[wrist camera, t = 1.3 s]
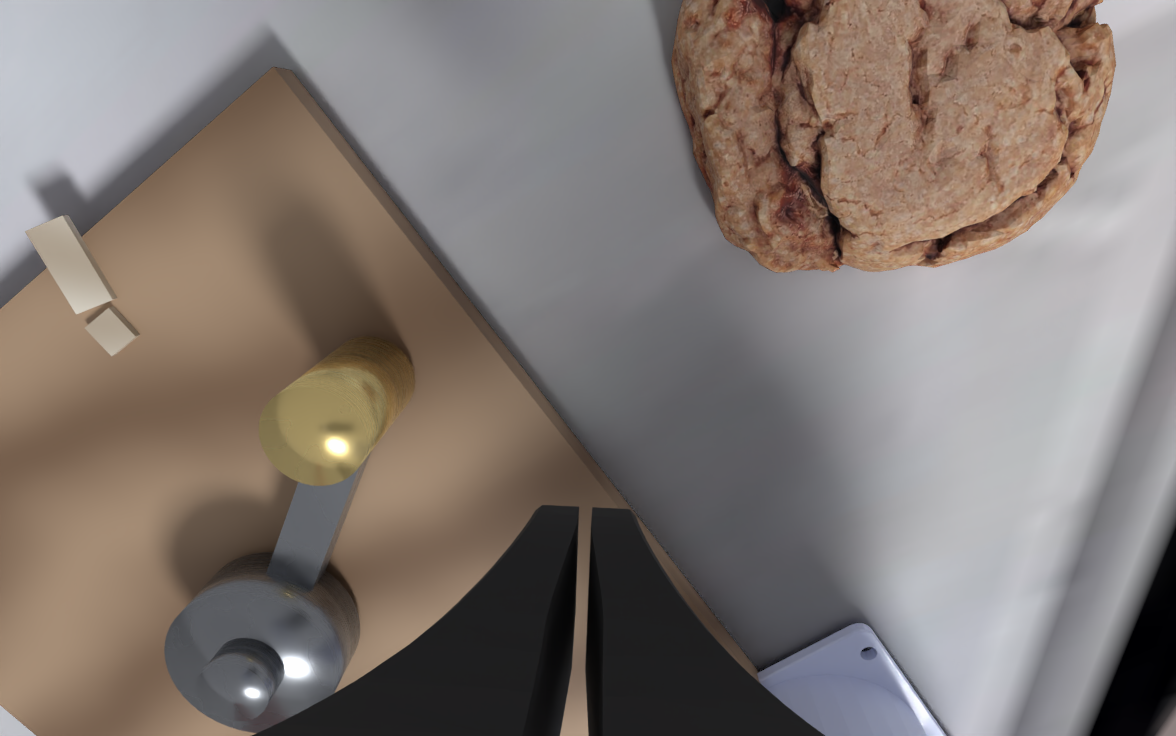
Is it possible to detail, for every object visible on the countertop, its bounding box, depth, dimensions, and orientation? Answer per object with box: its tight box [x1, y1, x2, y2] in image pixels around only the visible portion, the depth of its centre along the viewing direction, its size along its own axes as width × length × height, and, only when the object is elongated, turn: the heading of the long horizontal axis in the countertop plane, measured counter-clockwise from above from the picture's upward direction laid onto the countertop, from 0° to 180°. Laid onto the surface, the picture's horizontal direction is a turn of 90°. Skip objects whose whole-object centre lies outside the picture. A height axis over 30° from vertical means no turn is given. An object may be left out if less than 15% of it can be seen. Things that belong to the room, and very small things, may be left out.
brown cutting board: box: [0, 67, 760, 736], centre depth 22 cm, size 25×22×1 cm
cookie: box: [671, 0, 1116, 273], centre depth 16 cm, size 10×11×3 cm
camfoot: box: [164, 336, 415, 733], centre depth 19 cm, size 13×5×4 cm, turn 156°
